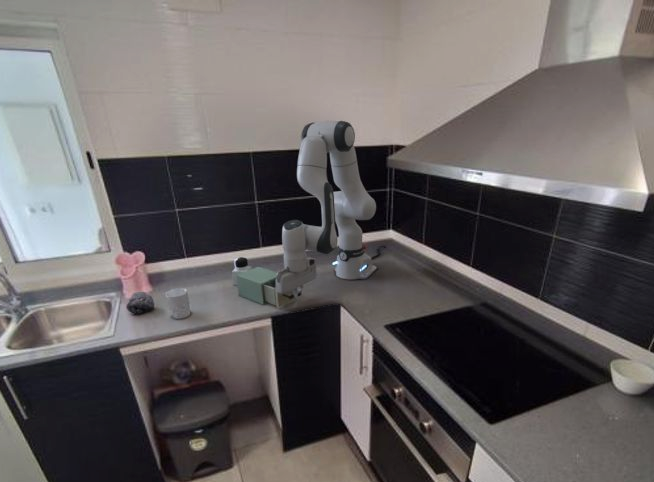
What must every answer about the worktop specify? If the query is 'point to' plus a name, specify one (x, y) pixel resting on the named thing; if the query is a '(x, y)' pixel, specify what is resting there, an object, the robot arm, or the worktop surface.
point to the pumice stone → (140, 303)
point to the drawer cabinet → (254, 283)
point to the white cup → (178, 303)
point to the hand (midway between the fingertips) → (297, 296)
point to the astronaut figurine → (240, 268)
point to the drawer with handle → (276, 295)
